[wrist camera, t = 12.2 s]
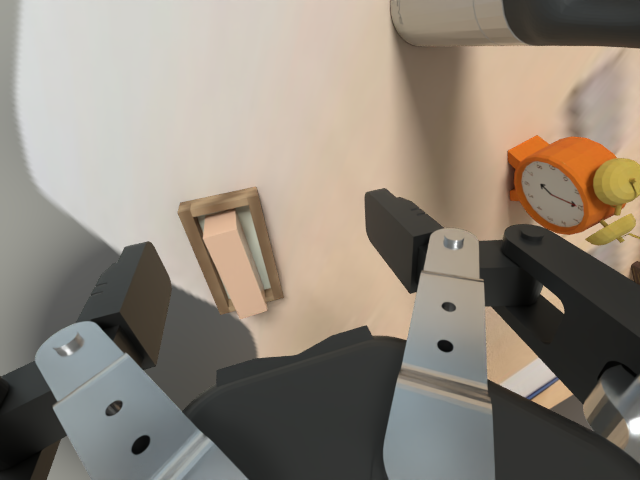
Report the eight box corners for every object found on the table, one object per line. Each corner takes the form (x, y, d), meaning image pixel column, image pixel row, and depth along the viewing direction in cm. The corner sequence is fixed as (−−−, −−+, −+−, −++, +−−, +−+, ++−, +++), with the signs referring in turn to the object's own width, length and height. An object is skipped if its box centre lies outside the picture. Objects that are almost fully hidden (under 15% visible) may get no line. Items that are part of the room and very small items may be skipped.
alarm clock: (503, 143, 49) (645, 192, 33) (538, 125, 49) (698, 164, 32) (507, 208, 57) (624, 275, 40) (537, 192, 56) (666, 252, 40)
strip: (234, 207, 41) (236, 229, 37) (263, 284, 49) (267, 310, 44) (205, 215, 41) (202, 238, 36) (238, 291, 49) (240, 319, 44)
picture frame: (256, 186, 42) (258, 195, 40) (280, 285, 52) (283, 297, 49) (180, 202, 40) (177, 212, 38) (220, 301, 50) (220, 314, 48)
